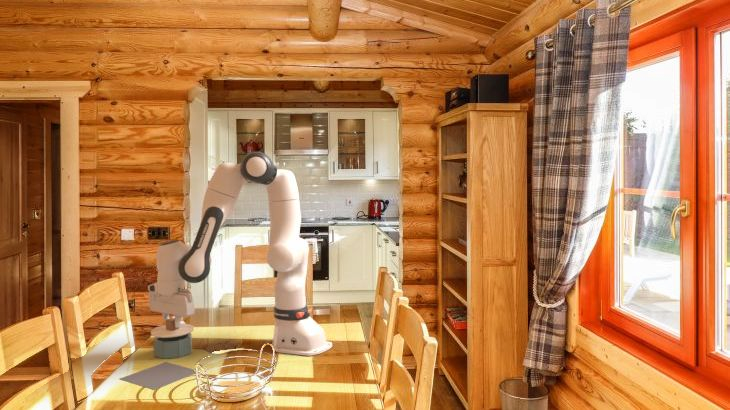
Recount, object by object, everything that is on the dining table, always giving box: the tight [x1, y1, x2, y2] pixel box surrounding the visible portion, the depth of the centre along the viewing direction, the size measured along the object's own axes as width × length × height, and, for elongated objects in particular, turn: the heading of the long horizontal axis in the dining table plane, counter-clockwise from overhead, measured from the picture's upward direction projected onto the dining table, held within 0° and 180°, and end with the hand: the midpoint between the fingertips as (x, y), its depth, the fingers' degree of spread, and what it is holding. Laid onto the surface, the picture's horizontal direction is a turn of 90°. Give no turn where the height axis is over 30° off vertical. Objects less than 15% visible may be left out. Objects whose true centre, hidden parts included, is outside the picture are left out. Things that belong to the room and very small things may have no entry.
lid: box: [150, 317, 194, 338], centre depth 188 cm, size 14×14×4 cm
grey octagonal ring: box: [153, 332, 193, 360], centre depth 189 cm, size 12×12×6 cm
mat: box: [119, 361, 196, 391], centre depth 168 cm, size 17×17×1 cm
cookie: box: [201, 340, 245, 354], centre depth 194 cm, size 12×12×1 cm
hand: (172, 326), depth 188 cm, fingers closed on lid, 3 cm apart
